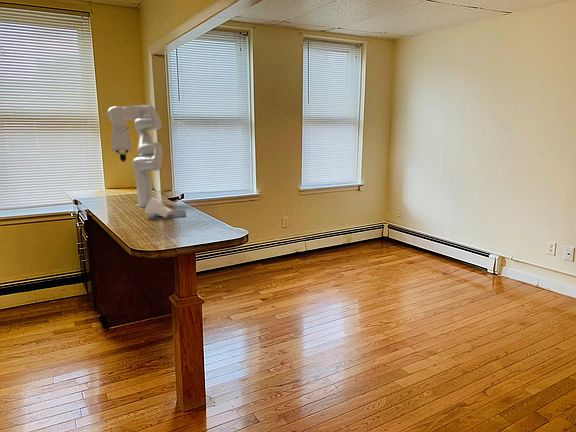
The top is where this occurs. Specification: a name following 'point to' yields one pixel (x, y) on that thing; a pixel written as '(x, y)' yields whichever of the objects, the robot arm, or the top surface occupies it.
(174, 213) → the mat
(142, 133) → the robot arm
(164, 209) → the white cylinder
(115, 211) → the top surface
